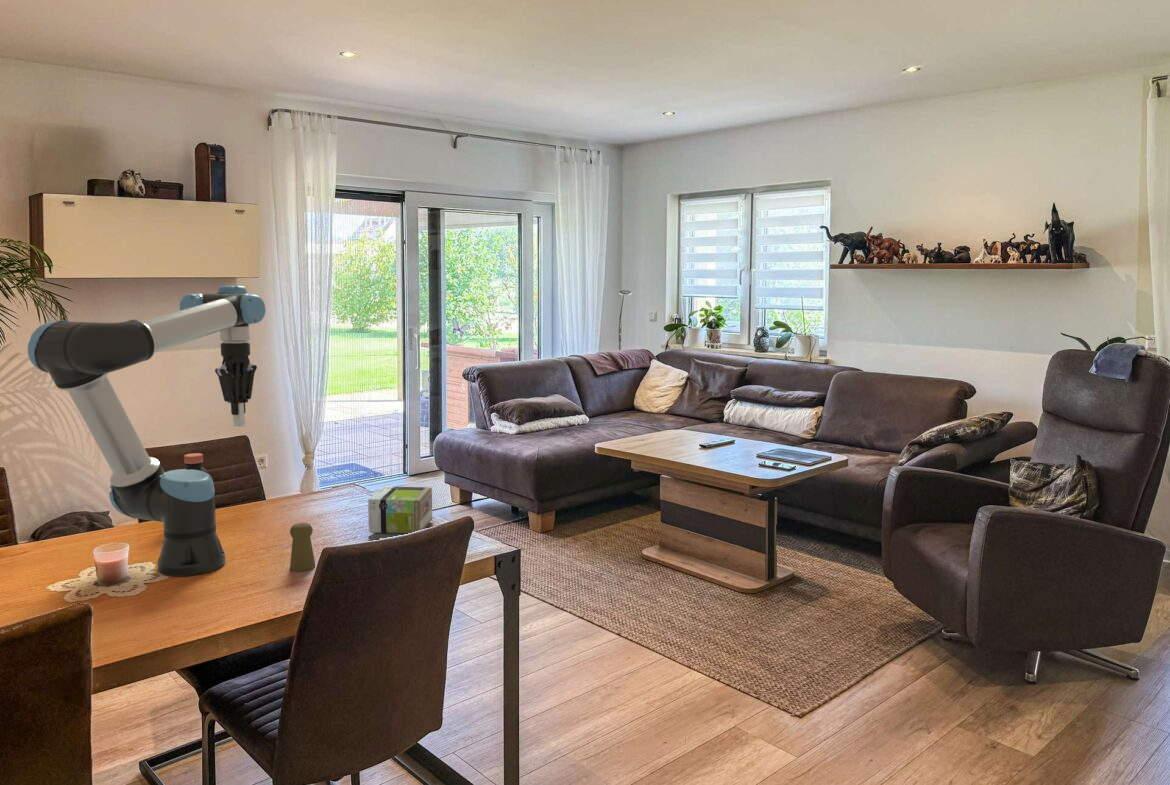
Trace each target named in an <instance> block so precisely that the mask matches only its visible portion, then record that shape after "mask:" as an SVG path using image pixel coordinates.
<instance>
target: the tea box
mask: <svg viewBox="0 0 1170 785" xmlns="http://www.w3.org/2000/svg"><path fill="white" fill-rule="evenodd" d="M432 488H433V487H429V486H428V487H427V486H425V487H423V486H382V488H380V489H379V490H378V491H377V492H376V493H374V494H373V495H371V497H370V498H368V499H367V500H368V501H367V503H368V505H367V506H368V507H367V510H368V512H367V513H368V531H369V533H372V534H375V533H407V534H408V533H412V532H415V531H418V530H422V529H425V527H428V526H429V524H430V523H431V521H432V520H433V489H432Z"/></svg>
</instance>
